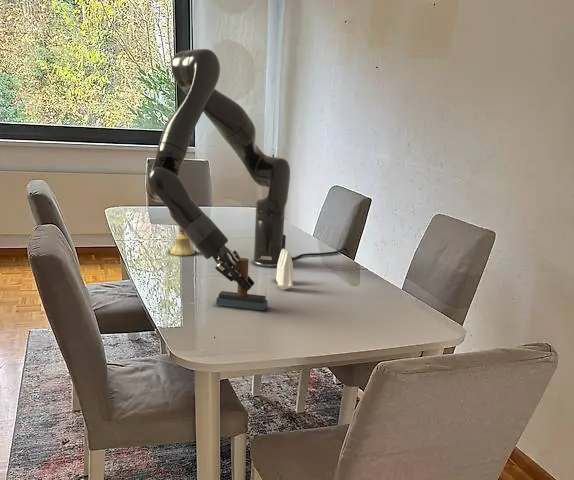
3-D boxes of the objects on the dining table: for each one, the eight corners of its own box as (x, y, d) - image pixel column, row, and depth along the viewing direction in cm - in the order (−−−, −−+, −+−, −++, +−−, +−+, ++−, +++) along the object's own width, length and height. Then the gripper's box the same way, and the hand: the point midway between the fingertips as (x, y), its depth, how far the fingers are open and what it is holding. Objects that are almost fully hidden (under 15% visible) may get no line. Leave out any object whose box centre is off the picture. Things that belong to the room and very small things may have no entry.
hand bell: (166, 254, 210) (165, 205, 203) (174, 248, 218) (174, 201, 211) (190, 256, 209) (190, 207, 202) (198, 251, 217) (198, 203, 210)
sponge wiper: (219, 301, 169) (220, 255, 164) (267, 307, 168) (269, 260, 162) (216, 305, 166) (217, 258, 161) (264, 311, 165) (267, 263, 159)
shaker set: (292, 292, 181) (295, 254, 177) (278, 291, 181) (280, 253, 176) (289, 280, 192) (291, 244, 187) (275, 279, 192) (277, 243, 187)
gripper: (207, 232, 153) (254, 286, 157) (223, 221, 166) (266, 272, 169) (186, 251, 156) (233, 304, 160) (203, 239, 169) (246, 289, 172)
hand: (250, 287), depth 164 cm, fingers closed on sponge wiper, 2 cm apart
